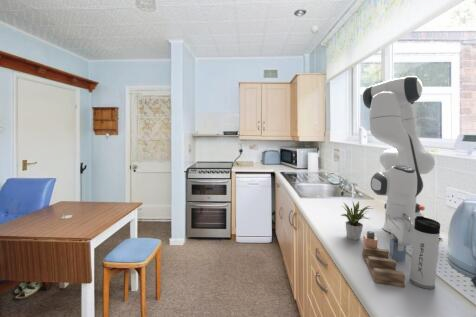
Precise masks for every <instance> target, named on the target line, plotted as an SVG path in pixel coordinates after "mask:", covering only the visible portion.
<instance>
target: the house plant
mask: <svg viewBox="0 0 476 317" xmlns="http://www.w3.org/2000/svg"><path fill="white" fill-rule="evenodd" d="M351 201H352V206H353V207H351V208H349V206H348V204H346V203H345V202H344V201H343V202H342V203H343V204H344V206H343V205H341V207H342V208H344V210H345V211H346V213H343V214H341V215H340V216H342V217H346V218H347V220H346V221H345V230H346V237H347V238H348V239H350V240H356V241H357V240H360V239H361V235H362V231H363V227H364V224H363V223H362V222H363V220H362V219H366V220H369V217H366V216H365V214H367V213H368V212H366V210H370V209H372V210H374V208H373V207H370V205H367V206H365V207H363V208H362V209H360V201H357V203H356V204H355V203H354V200H351ZM371 219H372V217H370V220H371ZM360 220H361V221H360ZM359 221H360V222H359Z"/></svg>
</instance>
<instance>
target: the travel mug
mask: <svg viewBox="0 0 476 317" xmlns="http://www.w3.org/2000/svg"><path fill="white" fill-rule="evenodd" d="M414 225H415V226H414V233H413V245H411V247H412V248H411V260H410V272H409V281H410V282H411V283H412V284H413V285H415V286H416V287H419V288H422V289H426V290H432V289H434V288H435V287H436V280H437V278H436V277H437V268H438V256H439V247H440V246H439V245H440V239H439V237H440V236H441V233H440V232H441V231H440V230H441V223H440V222H438V221H437V220H435V219H432V218H429V217H427V218H425V217H423V216H417V217H416V218H415V224H414Z"/></svg>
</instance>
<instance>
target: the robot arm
mask: <svg viewBox="0 0 476 317" xmlns="http://www.w3.org/2000/svg"><path fill="white" fill-rule="evenodd" d="M422 93H423V84H422V81H421V80H420V78H419V77H417V75H409V76H408V75H407V76H405V77H400V78H399V77H398V78H393V79H389V80H387V81H383V82H380V83H377V84H375V85H374V84H372V85H370V86H367V87H365V89H364V90H363V93H362V101H363V105H364V106H365V107H366V108H368V109H369V130H370V134H371V135H372V136H373V137H374V138H375V139H376V140H378V141H379V142H381V143H385V144H387V145H388V146H391V147H392V148H389V149H385V150H383V152H381V154H380V156H379V162H380V164H381V166H382V168H384V170H383V171H378V172H376V173H374V174H373V175H372V177H371V179H370V189H371V191H372V192H373V193H374V194H376V195H377V196H380V197H381V196H382V197H387V199H386V202H385V203H384V205H383V208H384V209H385V212H384V214H385V218H384V222H383V225H382V226H381V227H382V229H383V230H384V231H386V232H388V233H390V234H391V239H394V235H395V236H396V237H397V239H398V244H397V249H398V250H399V251H403V250H404V246H405V245H406V246H412V245H413V233H414V226H415V225H414V224H415V218H416V217H417V216H423V217H425V218H428V216H426V215H425V214H424V213H422V212H421V211H425V206H424V205H422V204H419V203H417V196H419V195H420V194H421V193H422V191H423V189H424V181H423V178H422V176H421V175H427V174H429V173H431V171H433V169H434V167H435V157H434V156H433V155H432V153H430V152H428V150H426V148H425V147H424V146H423V144H422V142H421V141H420V138H419V135H418V133H417V132H418V131H417V127H416V119H415V112H414V107H413V105H414V104H415V102H417V101H418V100H419V99H420V98H421V96H422Z"/></svg>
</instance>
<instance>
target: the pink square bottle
mask: <svg viewBox="0 0 476 317" xmlns="http://www.w3.org/2000/svg"><path fill="white" fill-rule="evenodd" d="M375 234H376V232H374V231H369V230H367V231H366V234H364V235H363V242H362V247H363V246H364V247H372V248H378V242H379V241H378V238H377V237H376V236H375Z"/></svg>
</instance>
